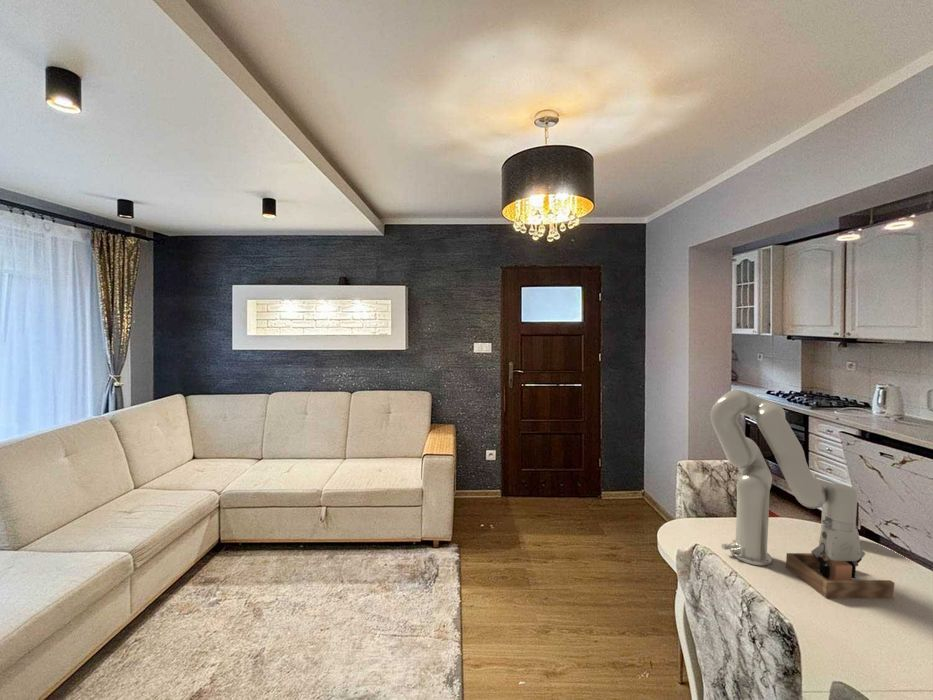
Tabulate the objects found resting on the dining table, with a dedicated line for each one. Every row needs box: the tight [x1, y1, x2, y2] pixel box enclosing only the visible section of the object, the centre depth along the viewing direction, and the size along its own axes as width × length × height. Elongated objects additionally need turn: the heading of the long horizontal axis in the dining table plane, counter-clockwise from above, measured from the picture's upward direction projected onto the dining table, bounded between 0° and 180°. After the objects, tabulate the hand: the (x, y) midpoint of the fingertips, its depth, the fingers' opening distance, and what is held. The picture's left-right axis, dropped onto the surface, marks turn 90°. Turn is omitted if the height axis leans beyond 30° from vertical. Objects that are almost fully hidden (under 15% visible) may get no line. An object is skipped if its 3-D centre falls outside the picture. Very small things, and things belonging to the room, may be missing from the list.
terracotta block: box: [821, 557, 852, 580], centre depth 138 cm, size 5×5×7 cm
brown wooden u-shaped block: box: [785, 552, 895, 599], centre depth 138 cm, size 21×16×5 cm
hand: (836, 575), depth 138 cm, fingers open, 7 cm apart
